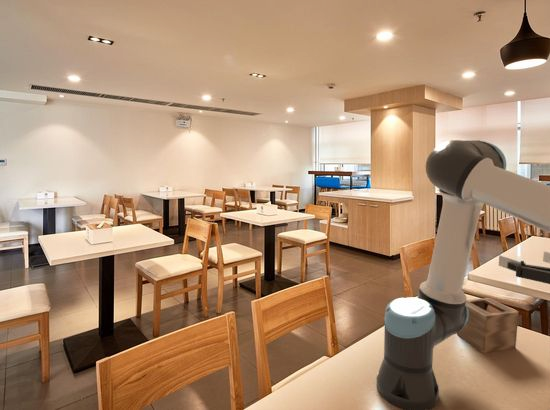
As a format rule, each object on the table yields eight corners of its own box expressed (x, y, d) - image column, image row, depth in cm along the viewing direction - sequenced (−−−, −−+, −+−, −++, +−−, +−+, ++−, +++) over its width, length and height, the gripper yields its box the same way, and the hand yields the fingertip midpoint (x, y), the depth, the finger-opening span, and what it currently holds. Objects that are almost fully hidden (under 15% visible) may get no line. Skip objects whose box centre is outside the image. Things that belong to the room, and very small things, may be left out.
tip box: (482, 352, 102) (485, 316, 100) (456, 334, 112) (458, 301, 111) (515, 347, 104) (518, 311, 102) (487, 330, 115) (489, 297, 113)
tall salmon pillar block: (488, 340, 105) (500, 311, 104) (476, 332, 110) (488, 304, 109) (495, 342, 106) (508, 314, 105) (484, 334, 111) (495, 307, 110)
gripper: (569, 314, 62) (479, 276, 83) (669, 301, 67) (561, 268, 88) (573, 276, 61) (481, 247, 82) (674, 265, 66) (563, 240, 86)
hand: (522, 258), depth 85 cm, fingers open, 13 cm apart
